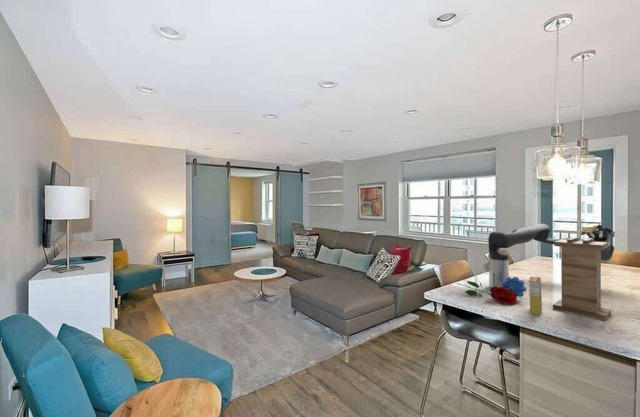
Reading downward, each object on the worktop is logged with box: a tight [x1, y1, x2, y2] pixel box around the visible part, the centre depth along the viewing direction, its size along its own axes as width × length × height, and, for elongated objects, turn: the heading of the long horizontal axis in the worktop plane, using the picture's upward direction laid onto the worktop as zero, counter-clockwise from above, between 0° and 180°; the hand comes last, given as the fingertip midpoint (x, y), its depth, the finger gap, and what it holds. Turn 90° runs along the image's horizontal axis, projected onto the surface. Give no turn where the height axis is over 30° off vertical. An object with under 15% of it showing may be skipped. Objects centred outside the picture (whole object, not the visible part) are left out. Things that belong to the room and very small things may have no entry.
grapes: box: [501, 276, 527, 299], centre depth 150 cm, size 12×7×12 cm, turn 38°
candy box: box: [528, 276, 543, 316], centre depth 132 cm, size 9×4×15 cm, turn 140°
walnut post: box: [552, 236, 612, 321], centre depth 131 cm, size 14×18×34 cm
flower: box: [456, 280, 518, 305], centre depth 152 cm, size 9×10×30 cm
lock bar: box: [581, 223, 598, 233], centre depth 145 cm, size 24×3×2 cm, turn 128°
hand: (594, 225), depth 149 cm, fingers closed on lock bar, 3 cm apart
